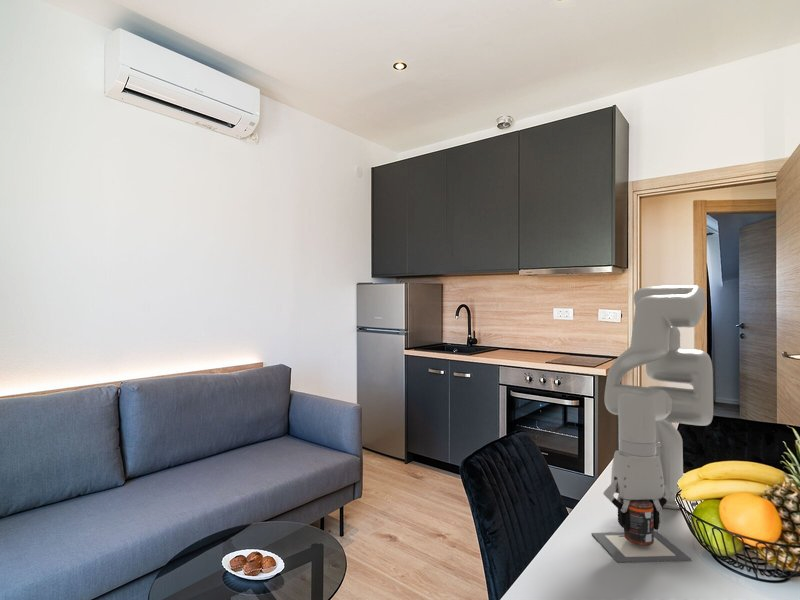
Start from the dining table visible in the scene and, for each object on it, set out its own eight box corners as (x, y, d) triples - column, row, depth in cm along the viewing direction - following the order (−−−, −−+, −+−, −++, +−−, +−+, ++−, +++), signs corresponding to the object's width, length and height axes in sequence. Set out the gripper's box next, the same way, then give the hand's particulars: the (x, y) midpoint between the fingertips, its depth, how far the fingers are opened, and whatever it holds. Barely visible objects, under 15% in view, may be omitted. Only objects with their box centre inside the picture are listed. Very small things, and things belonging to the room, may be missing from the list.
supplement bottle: (658, 548, 97) (657, 496, 97) (628, 546, 98) (627, 494, 99) (648, 535, 103) (647, 485, 103) (621, 532, 104) (620, 483, 104)
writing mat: (657, 532, 107) (657, 530, 107) (691, 560, 95) (691, 558, 95) (591, 534, 106) (591, 532, 106) (617, 562, 94) (617, 560, 94)
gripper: (664, 441, 105) (665, 518, 105) (592, 442, 105) (593, 520, 104) (685, 451, 98) (687, 534, 97) (607, 453, 97) (609, 536, 97)
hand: (638, 526), depth 101 cm, fingers closed on supplement bottle, 6 cm apart
